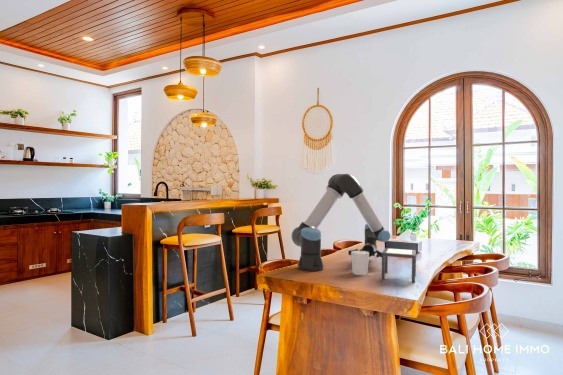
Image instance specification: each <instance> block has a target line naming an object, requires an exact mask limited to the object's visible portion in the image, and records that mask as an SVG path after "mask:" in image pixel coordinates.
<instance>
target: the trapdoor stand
mask: <svg viewBox="0 0 563 375" xmlns="http://www.w3.org/2000/svg"><path fill="white" fill-rule="evenodd" d="M388 249H396V248H394V247H384V249H383V251H382V252H381V253H382V257H381V280H383V281H384V280H386V279H385V278H386V274H388V268H389V266H388V262H389V259H388V258H389V257H394V258H406V259H411V283H413V284H414V283H416V275H417V274H416V269H417V250H416V249H412V250H413V252H412V255H410V254H397V253H386V251H387V250H388ZM401 249H402V250H410V248H409V249H406V248H401Z"/></svg>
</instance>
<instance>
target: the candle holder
mask: <svg viewBox="0 0 563 375" xmlns="http://www.w3.org/2000/svg"><path fill="white" fill-rule="evenodd" d="M351 254H352V258H351V273H352V274H353V275H356V276H367V275H368V273H369V272H368V271H369V260H370V259H369V258H370V257H369V252H366V251H352V252H351Z"/></svg>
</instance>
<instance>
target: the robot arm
mask: <svg viewBox="0 0 563 375" xmlns="http://www.w3.org/2000/svg"><path fill="white" fill-rule="evenodd" d="M325 188H326V192H325V193H324V194H323V196H322V197H321V199H320V200H319V201H318V202H317V204H316V205H315V207H314V209H313V210H312V211H311V213H310V214H309V215H308V216H307V218H306V220H305V221H302V222H301V223H300V224H299V226H297V227H295V228H294V229H293V230H292V232H291V240H292V242H293V243H294V245H295V246H297V247H300V256H299V260H298V263H297V269H298V270H301V271H303V272H304V271H306V272H318V271H323V270H324V263H323V260H322V256H321V252H322V250H321V249H322V246H321V245H322V233H321V232H322V231H321V230H320V229H319V226H320V225H321V224H322V222H323V220H324V219H325V218H326V216H327V215H328V213H329V212H330V211H331V209H332V208H333V207H334V205H335V203H336V202H337V201H338V199H342V198H343V197H344V195H345V194H346V195H347V196H348V198H349V199H351V200H352V201H353V203H354V205H355V206H356V208H357V209H358V211H359V212H360V214H361V217H362V218H363V220H364V221H365V222H366V224H365V225H364V245H363V247H362V248H360V249H359V248H356V249H352V250H351V249H350V250H348V256H350V258H351V259H352V254H351V252H352V251H366V252H369V258H370V257H374V260H377V258H382V252H381V251H379V250H378V246H377V241H378V242H381V243H387V242H388V241H390V239H391V232H390V231H389V230H387V229H385V228H384V225H383V224H382V223H381V221H380V219H379V218H378V215H377V214H376V212H375V211H374V209H373V207H372V205H371V204H370V202H369V201H368V199H367V197H366V195H365V194H364V188H363V187H362V185H361V184H360V182H359V180H357V178H356V177H355V176H353V175H352V174H349V173H337V174H336V173H335V174H334V175H331V177H330V178H329V179H328V182H327V186H326V187H325Z"/></svg>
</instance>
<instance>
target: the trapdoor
mask: <svg viewBox="0 0 563 375" xmlns="http://www.w3.org/2000/svg"><path fill="white" fill-rule="evenodd" d="M402 249H403V248H395V249H388V250H387V251H386V253H397V254H410V255H412V254H413V253H412V252H413V250H414V249H409V250H402Z"/></svg>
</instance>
